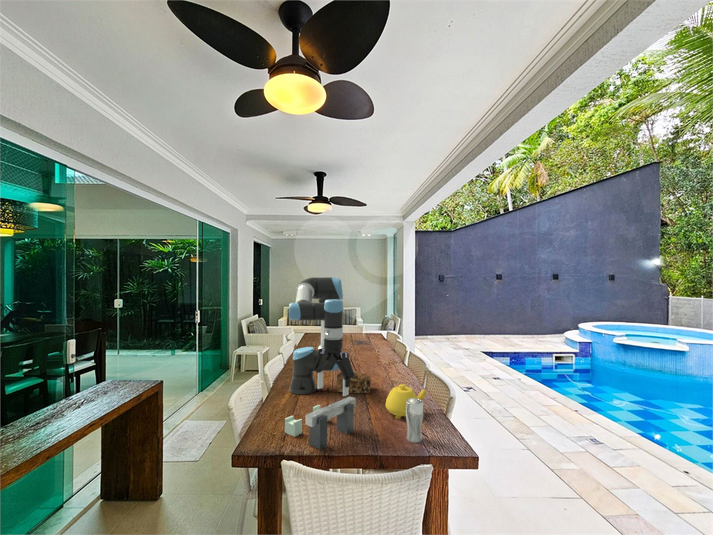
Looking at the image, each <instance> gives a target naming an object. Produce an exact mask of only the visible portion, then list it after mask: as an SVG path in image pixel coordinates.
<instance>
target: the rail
mask: <svg viewBox="0 0 713 535" xmlns="http://www.w3.org/2000/svg"><path fill="white" fill-rule="evenodd" d="M350 404H354V408H356V407H357V398H355V397H353V396H347V397H345V398H342V399H340V400H338V401H336V402H333V403H330V404H329V405H325V406H324V407H320V408H321V409H319V410H316V411H314V412H313V411H311V412H310V413H307V414H305V417H304V419H305V422H304V423H305V425H306V426H308V427H309V426H310V427H313V426H316V425H318V422H319V418H321V417H324V416H327V420H328V419H329V420H330V419H332V418H334V417H337V415H339V414H341V413H343V412H345V411H346V406H348V405H350Z"/></svg>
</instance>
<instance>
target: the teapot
mask: <svg viewBox="0 0 713 535" xmlns="http://www.w3.org/2000/svg"><path fill="white" fill-rule="evenodd" d="M427 393H428V392H427V391H426V390H425V389H423V388H422V389H421V391H420V392H419V393H418V395H416V392H414V390H413V389H412V388H411V387H410V386H407V385H406V384H399V385H398V386H394V387H392V389H391V390H390V392H389V393H388V395H387V397H386V401H385V408H386V410H387V411H388V412H389V413H390V414H392V415H394V419H395V420H400V419H401V418H402V417H406V400H407V399H411V398H415V399H420V400H422V401H423V399H424V398H425V396H426V394H427Z"/></svg>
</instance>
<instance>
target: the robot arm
mask: <svg viewBox="0 0 713 535" xmlns="http://www.w3.org/2000/svg"><path fill="white" fill-rule="evenodd" d="M294 292H295V302H290V303H289V306H288V319H289V320H290V321H297V322H299V321H320V345H318V347H317V349H315V348H314V347H313V346H306V347H300V348H296V349H295V350H294V351H293V352H292V353H293V354H292V378H291V381H290V385H289V387H288V388H289V390H288V391H289V392H290V394H294V395H309V394H313V393H315V392H316V391H317V390H320V389H323V388H324V372H335V371H338V370H339V371H340V373H341V372H342V374H343V376H344V379H343V392H342V397H346V396H349V394H350V393H349V387H350V378H352V377H354V376H355V375H354V370H353V367H352V364H351V361H350V357H349V352H348V351H345V352H344V351H342V348H343V342H344V341H343V337H344V336H343V334H344V330H343V329H344V324H343V323H344V322H343V320H344V302H343V299H344V297H343V296H344V294H343V285H342V281H341V279H340V278H339V277H333V276H332V277H331V276H330V277H309V278H308V277H307V278H305V279H304V280H302V281H300V282H299V283H298V284H297V285H296V287H295V291H294ZM313 300H318V302H313ZM314 372H316V380H317V384H316V380H315V377H314Z"/></svg>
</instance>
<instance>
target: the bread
mask: <svg viewBox="0 0 713 535" xmlns="http://www.w3.org/2000/svg"><path fill="white" fill-rule="evenodd" d="M353 372H354V371H353ZM354 375H355V376H354V377H352V378H350V387H349V394H362V393H364V394H369V393H371V386H372V385H371V384H372V382H371V376H370V374H369V373H364V372H359V371H356V372H354ZM343 379H344V376H343V374H342V372H341V371H340V372H339V373H338V374H337V376H336V385H337V386H336V389H337V393H343Z"/></svg>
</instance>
